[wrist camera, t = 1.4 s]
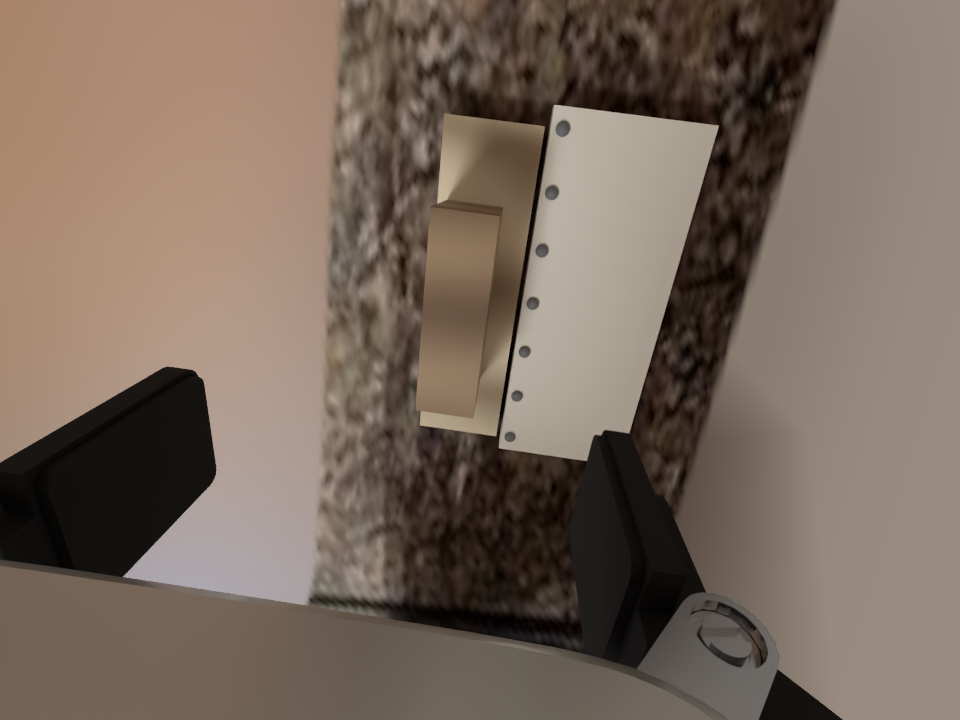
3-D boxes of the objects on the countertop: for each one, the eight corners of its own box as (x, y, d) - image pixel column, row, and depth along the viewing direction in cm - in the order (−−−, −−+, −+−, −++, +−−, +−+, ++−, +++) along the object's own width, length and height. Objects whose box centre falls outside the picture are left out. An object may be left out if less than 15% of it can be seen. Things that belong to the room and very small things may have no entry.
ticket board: (615, 452, 31) (620, 466, 30) (499, 436, 31) (498, 448, 30) (707, 128, 23) (719, 125, 22) (552, 108, 24) (554, 104, 22)
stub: (497, 424, 31) (491, 485, 25) (424, 413, 31) (401, 472, 25) (543, 128, 24) (551, 115, 18) (448, 116, 24) (425, 99, 18)
